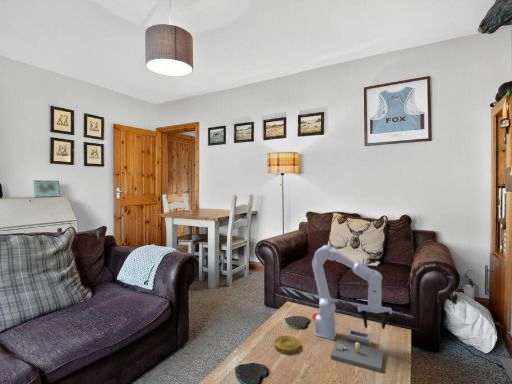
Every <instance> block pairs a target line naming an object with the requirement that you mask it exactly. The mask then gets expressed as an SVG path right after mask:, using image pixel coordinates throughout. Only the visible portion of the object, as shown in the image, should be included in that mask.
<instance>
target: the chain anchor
mask: <svg viewBox="0 0 512 384" xmlns="http://www.w3.org/2000/svg"><path fill="white" fill-rule="evenodd" d="M343 349H345V350H348V348H347V347H344V345H342V344H338V343H337V346H336V350H339V351H343Z"/></svg>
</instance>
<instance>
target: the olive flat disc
mask: <svg viewBox="0 0 512 384" xmlns="http://www.w3.org/2000/svg"><path fill="white" fill-rule="evenodd" d="M273 344H274V348H275V350H277V351H278V352H279V353H280V352H281V354H283V353H286V354H285V355H287V354H293V353H296V352H300V350H301V342H300V340H299V339H298V338H296V337H295V336H291V335H282V336H277V338H275V339H274V342H273Z"/></svg>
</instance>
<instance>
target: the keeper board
mask: <svg viewBox="0 0 512 384" xmlns="http://www.w3.org/2000/svg"><path fill="white" fill-rule="evenodd" d="M337 343H338V344H342V345H344V347H347V348H348V350H345V349H343V351H339V350H336V346H337ZM384 354H385V353H384V350H383V349H380V348H375V347H372V346H370V347H368V346H363V345H360V343H358V342H356V343H351V342H347V340H342V339H338V338H337V340H336V342H335V345H334V347H333V349H332V351H331V354H330V359H333V360H335V361H340V362H343V363H347V364H350V365H355V366H357V367H360V368H363V369H364V368H365V369H368V370H372V371H376V372H379V373H382V368H383V361H384V360H383V359H384Z"/></svg>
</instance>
